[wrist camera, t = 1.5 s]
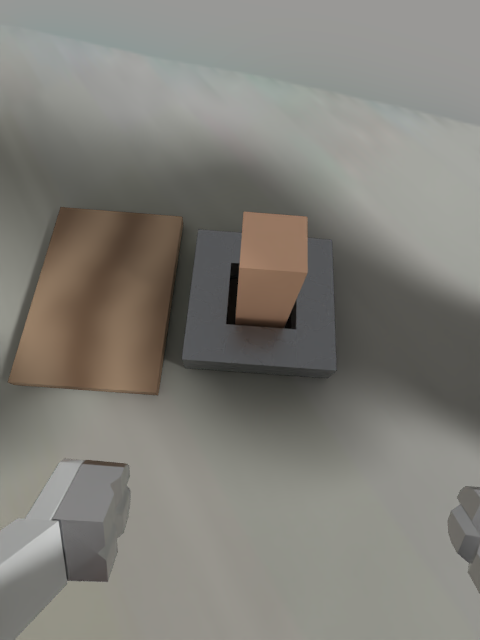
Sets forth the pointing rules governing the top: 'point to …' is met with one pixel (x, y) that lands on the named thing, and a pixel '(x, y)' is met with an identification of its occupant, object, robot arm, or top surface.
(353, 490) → the top surface
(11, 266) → the top surface
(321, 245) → the socket
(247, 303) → the peg
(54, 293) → the board
